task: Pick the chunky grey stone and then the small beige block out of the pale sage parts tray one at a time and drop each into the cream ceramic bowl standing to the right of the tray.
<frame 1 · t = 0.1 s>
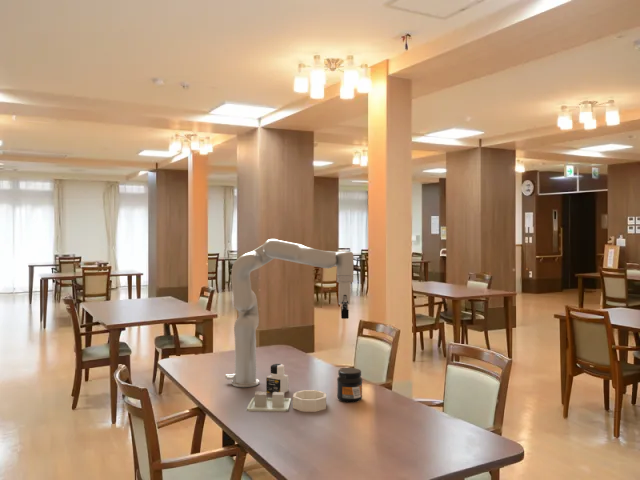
hand: (344, 316, 247), 31 cm above the table, tool pointing down, fingers open, 9 cm apart
bowl: (309, 407, 217), on the table
medicine bottle: (277, 392, 236), on the table
supplement container: (349, 399, 227), on the table
tray: (269, 406, 217), on the table
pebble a: (278, 405, 217), resting on tray
beige small block: (260, 405, 217), resting on tray
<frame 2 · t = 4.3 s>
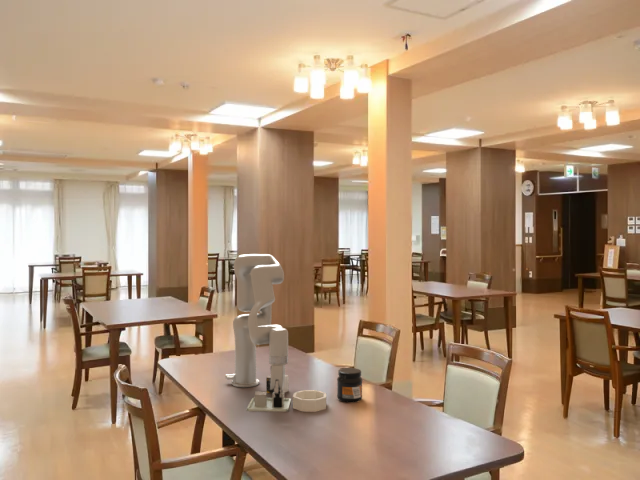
hand: (278, 404, 217), 1 cm above the table, tool pointing down, fingers closed on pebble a, 3 cm apart
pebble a: (278, 405, 217), resting on tray, touching gripper
everything else where it was.
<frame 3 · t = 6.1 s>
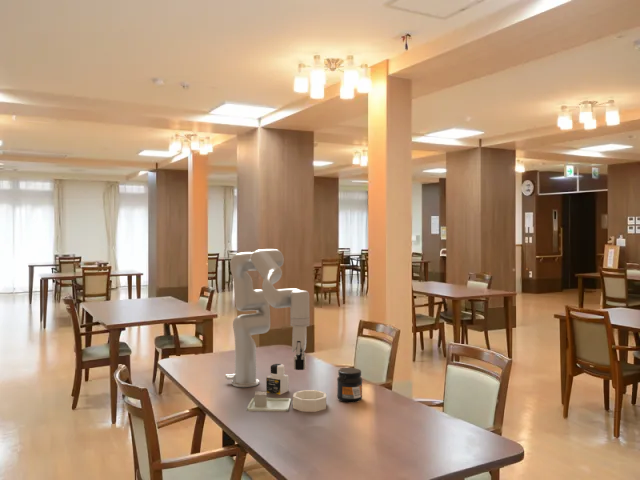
hand: (300, 367, 215), 16 cm above the table, tool pointing down, fingers closed on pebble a, 3 cm apart
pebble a: (299, 368, 215), point 16 cm above the table, touching gripper
everything else where it was.
when the fingers open (5 cm above the table, at t = 8.1 s): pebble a drops 4 cm, resting on bowl.
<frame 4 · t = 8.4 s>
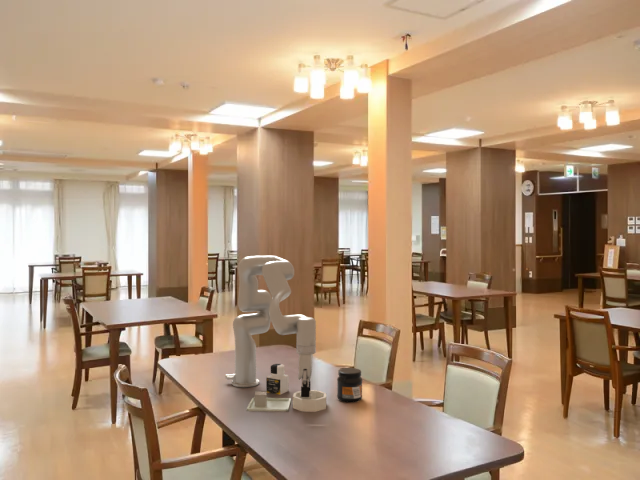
hand: (305, 393, 215), 6 cm above the table, tool pointing down, fingers open, 7 cm apart
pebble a: (305, 406, 215), point 1 cm above the table, touching bowl
everything else where it was.
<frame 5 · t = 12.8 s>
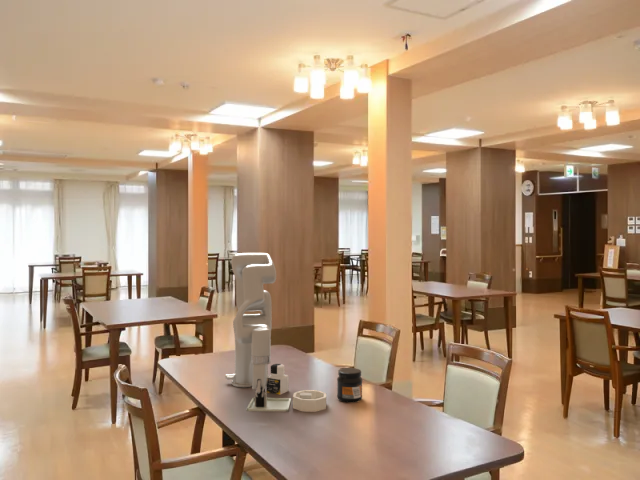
hand: (260, 404, 217), 1 cm above the table, tool pointing down, fingers closed on beige small block, tray, 3 cm apart
beige small block: (260, 405, 217), resting on tray, touching gripper
everything else where it was.
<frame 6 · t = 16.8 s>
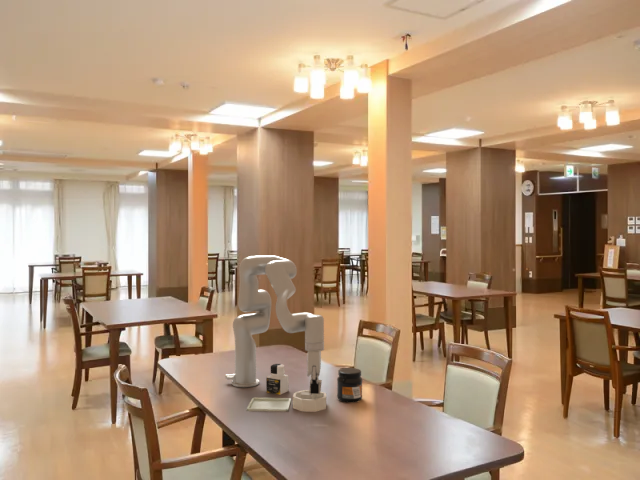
hand: (314, 391, 218), 6 cm above the table, tool pointing down, fingers closed on beige small block, 2 cm apart
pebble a: (305, 405, 215), point 1 cm above the table, touching bowl, gripper
beige small block: (314, 392, 218), point 6 cm above the table, tilted 5°, touching gripper
everything else where it was.
when the fingers open (6 cm above the table, at t = 16.9 s): beige small block moves 1 cm and tips over, resting on bowl, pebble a.
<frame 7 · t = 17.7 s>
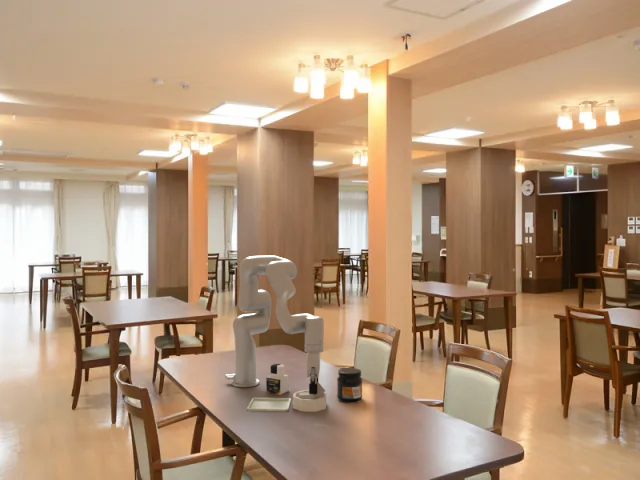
hand: (313, 390, 218), 6 cm above the table, tool pointing down, fingers open, 9 cm apart
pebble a: (305, 405, 215), point 1 cm above the table, touching bowl, beige small block
beige small block: (312, 394, 217), point 5 cm above the table, tilted 51°, touching bowl, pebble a
everything else where it was.
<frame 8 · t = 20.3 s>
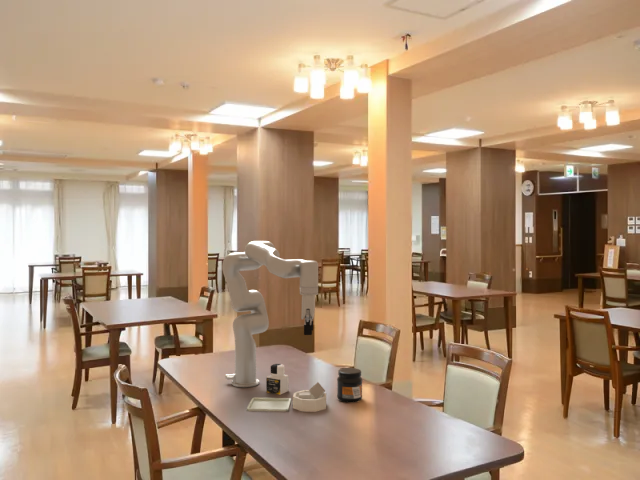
hand: (308, 332, 223), 28 cm above the table, tool pointing down, fingers open, 9 cm apart
nothing on the table moved.
at the end: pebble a inside the target area on the bowl (2.2 cm from its centre), point 0.9 cm above the bowl's base; beige small block inside the target area on the bowl (1.3 cm from its centre), point 4.7 cm above the bowl's base; the gripper is holding nothing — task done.
